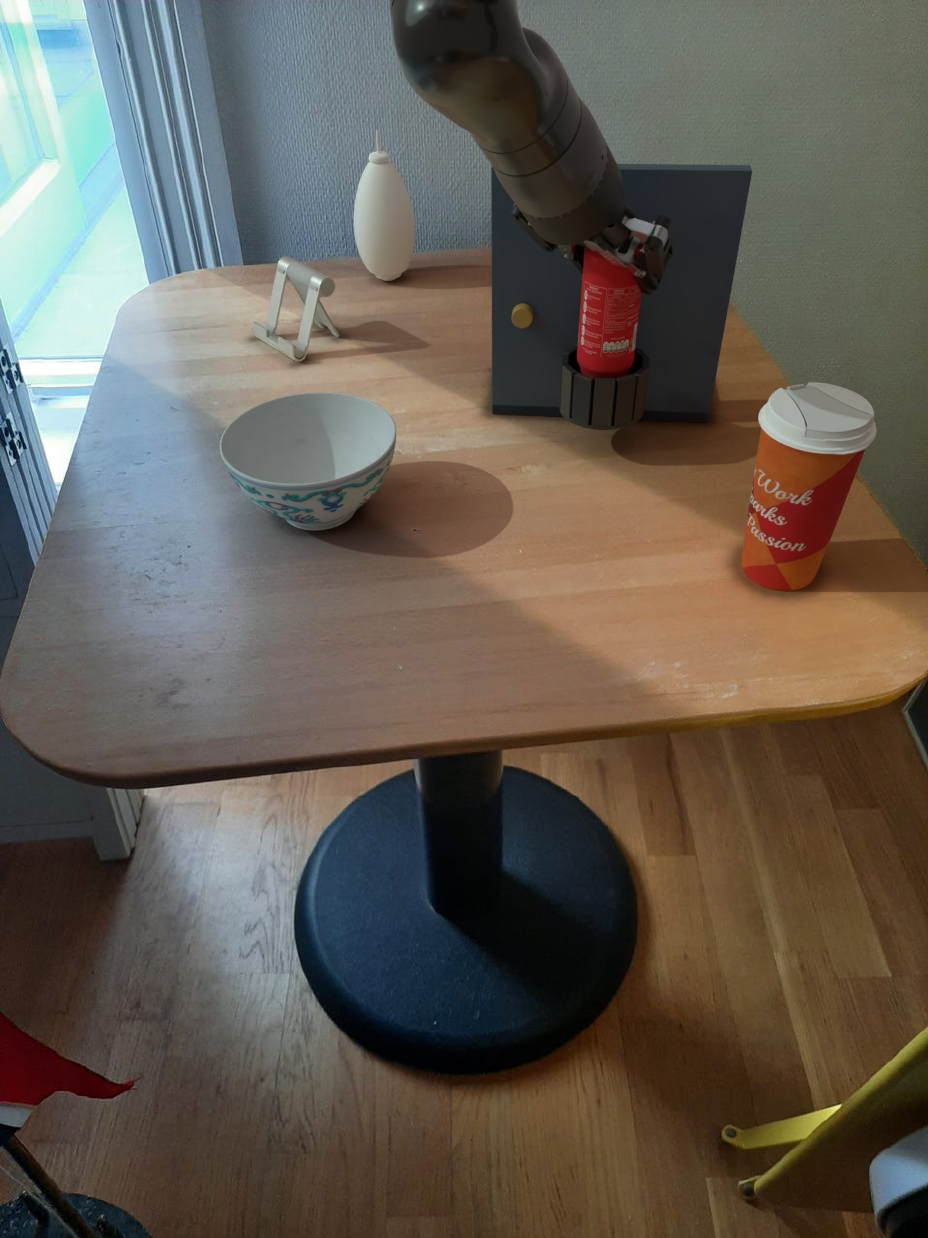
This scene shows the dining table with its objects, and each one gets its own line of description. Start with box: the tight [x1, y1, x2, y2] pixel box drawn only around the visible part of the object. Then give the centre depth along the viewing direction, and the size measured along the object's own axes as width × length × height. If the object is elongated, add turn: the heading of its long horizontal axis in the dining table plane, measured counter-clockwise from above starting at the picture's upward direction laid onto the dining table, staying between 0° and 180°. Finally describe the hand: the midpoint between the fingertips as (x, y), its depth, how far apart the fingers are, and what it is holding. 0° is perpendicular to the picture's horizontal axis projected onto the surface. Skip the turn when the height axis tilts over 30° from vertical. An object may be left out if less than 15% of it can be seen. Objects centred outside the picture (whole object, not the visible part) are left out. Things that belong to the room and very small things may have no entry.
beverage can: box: [577, 247, 642, 380], centre depth 81 cm, size 5×5×12 cm
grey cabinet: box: [490, 163, 753, 431], centre depth 87 cm, size 22×18×24 cm
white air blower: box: [353, 129, 416, 282], centre depth 116 cm, size 8×8×18 cm
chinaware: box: [219, 391, 397, 531], centre depth 81 cm, size 15×15×8 cm
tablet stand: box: [251, 255, 340, 363], centre depth 106 cm, size 9×8×8 cm
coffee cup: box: [741, 381, 878, 592], centre depth 71 cm, size 8×8×15 cm
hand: (622, 275), depth 81 cm, fingers closed on beverage can, 5 cm apart
